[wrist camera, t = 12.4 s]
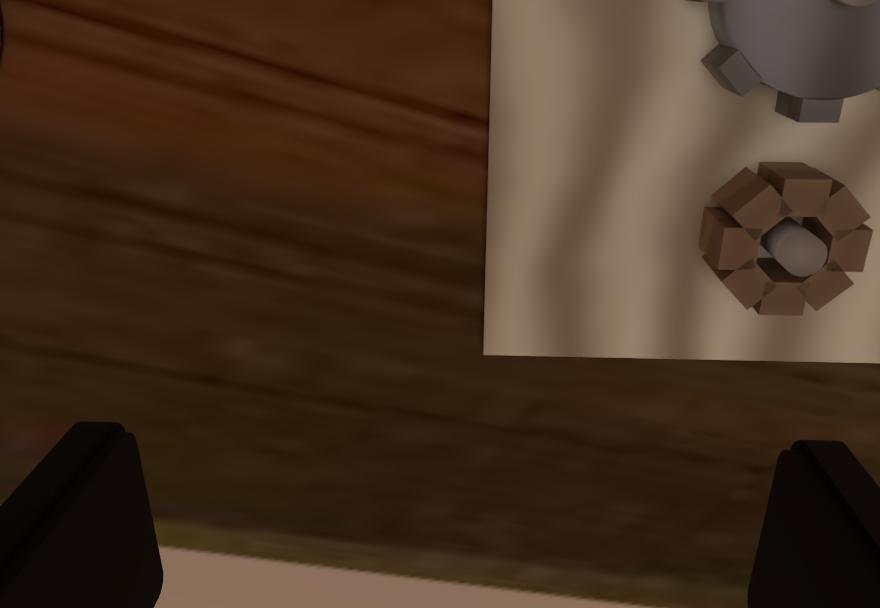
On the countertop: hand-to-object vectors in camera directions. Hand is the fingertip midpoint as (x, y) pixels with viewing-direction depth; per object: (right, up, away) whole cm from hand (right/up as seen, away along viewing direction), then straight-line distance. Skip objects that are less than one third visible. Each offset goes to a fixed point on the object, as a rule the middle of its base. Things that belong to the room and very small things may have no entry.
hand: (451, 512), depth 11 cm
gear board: (+14, +14, +26) cm, 33 cm away
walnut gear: (+17, +7, +28) cm, 34 cm away
